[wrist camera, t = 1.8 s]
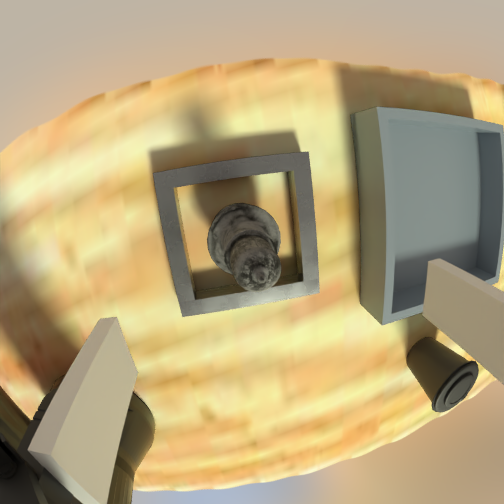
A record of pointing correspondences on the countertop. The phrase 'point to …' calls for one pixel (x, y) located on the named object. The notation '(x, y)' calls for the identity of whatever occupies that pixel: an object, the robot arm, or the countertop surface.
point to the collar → (235, 294)
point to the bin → (425, 202)
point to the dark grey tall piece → (246, 246)
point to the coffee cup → (441, 373)
